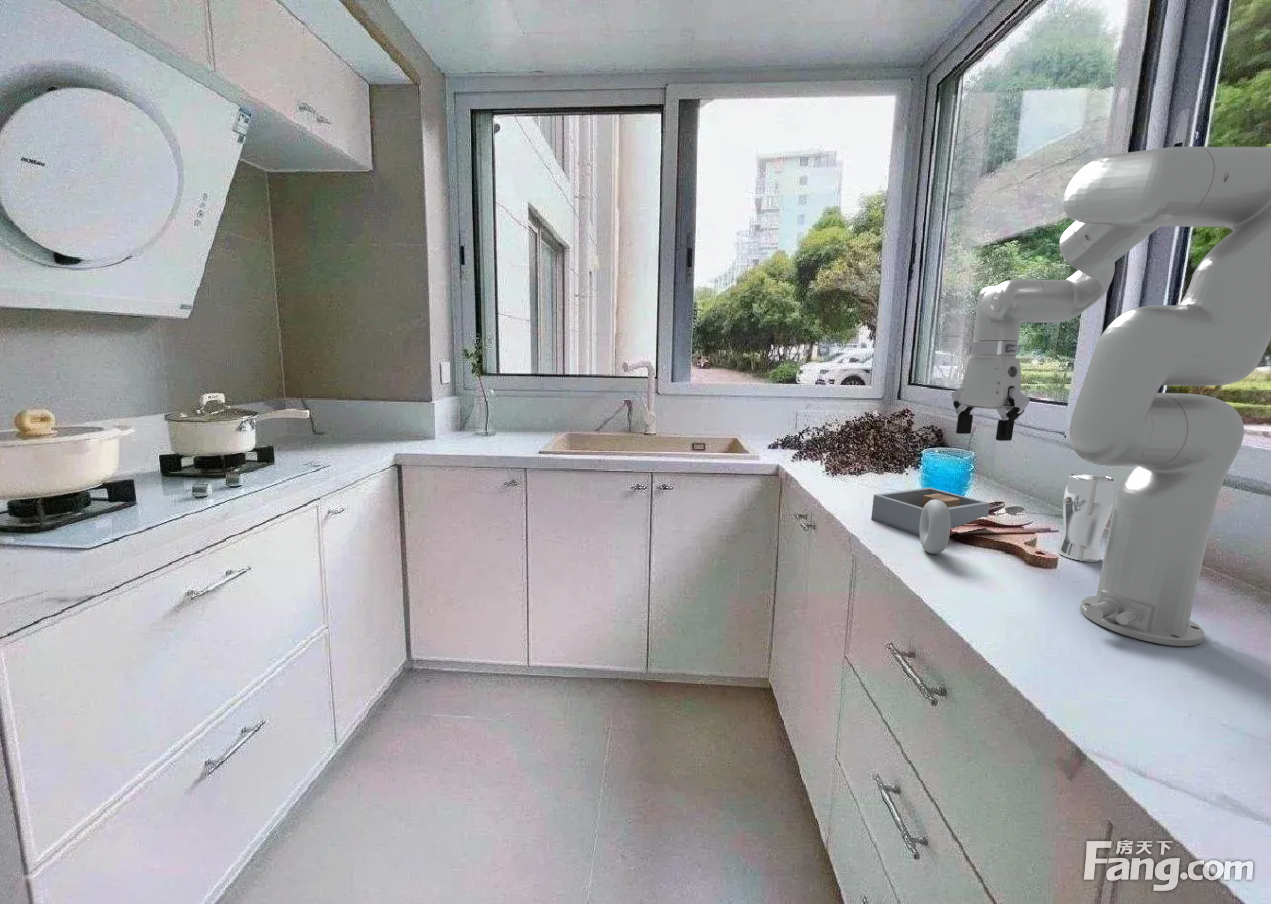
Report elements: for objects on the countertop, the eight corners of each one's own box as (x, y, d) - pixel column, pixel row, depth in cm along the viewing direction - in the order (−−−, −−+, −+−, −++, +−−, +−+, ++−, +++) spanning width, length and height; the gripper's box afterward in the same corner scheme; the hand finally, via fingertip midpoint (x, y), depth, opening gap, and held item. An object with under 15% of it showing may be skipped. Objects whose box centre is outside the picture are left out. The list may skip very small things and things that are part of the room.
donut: (948, 563, 97) (956, 508, 95) (927, 561, 97) (934, 506, 96) (934, 544, 106) (941, 494, 104) (914, 542, 107) (921, 492, 105)
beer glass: (1111, 565, 97) (1127, 482, 95) (1067, 561, 99) (1081, 480, 96) (1088, 551, 104) (1102, 473, 101) (1046, 548, 105) (1059, 471, 103)
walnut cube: (957, 521, 119) (960, 499, 118) (941, 524, 117) (944, 501, 116) (935, 514, 123) (938, 493, 123) (920, 517, 121) (923, 495, 120)
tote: (928, 539, 109) (932, 512, 108) (871, 519, 121) (873, 494, 120) (986, 528, 116) (989, 503, 115) (926, 510, 129) (929, 487, 128)
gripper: (1050, 351, 101) (1037, 443, 104) (973, 351, 118) (963, 430, 121) (1017, 350, 100) (1004, 443, 103) (944, 350, 116) (934, 431, 119)
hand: (982, 436), depth 112 cm, fingers open, 9 cm apart
